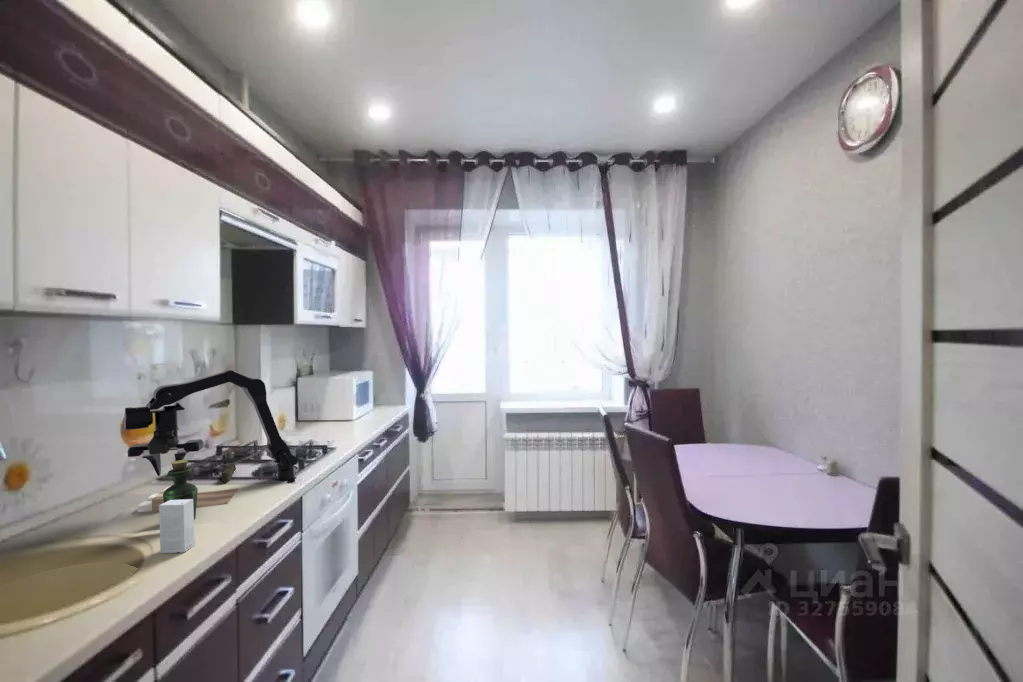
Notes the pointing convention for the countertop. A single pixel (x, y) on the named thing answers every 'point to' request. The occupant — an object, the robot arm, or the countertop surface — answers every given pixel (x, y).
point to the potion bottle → (181, 484)
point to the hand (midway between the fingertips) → (167, 474)
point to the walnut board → (215, 497)
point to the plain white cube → (152, 497)
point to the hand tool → (228, 472)
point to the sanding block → (158, 500)
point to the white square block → (145, 506)
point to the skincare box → (176, 526)
